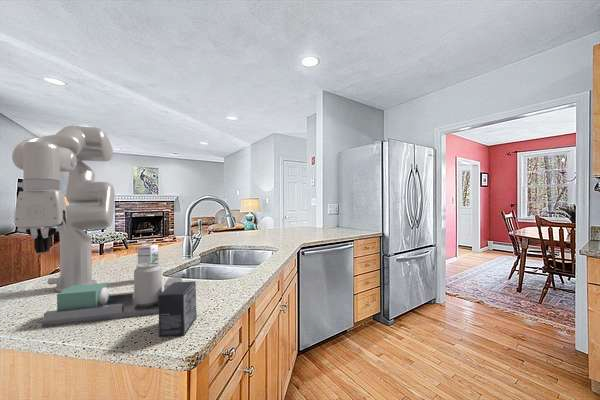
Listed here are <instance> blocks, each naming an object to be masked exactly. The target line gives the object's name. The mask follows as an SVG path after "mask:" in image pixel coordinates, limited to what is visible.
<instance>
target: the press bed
mask: <svg viewBox="0 0 600 400" xmlns="http://www.w3.org/2000/svg"><path fill="white" fill-rule="evenodd" d="M182 278H183V277H181V276H180V277H170V278H167V280H166V282H165V283H164V285H163V291H164V290H165V289H166V288H168V287H169V286H170V285H171V284H172V283H174V282H183V281H182ZM157 314H158V315H159V302H158V303H156V304H153V305H149V306H138V305H137V304H136V303H134V291H132V292H131V291H130V292H122V293H121V292H120V293H110V294H109V293H108V300H107V303H106V305H102V306H94V307H84V308H75V309H65V310H57V309H56V310H47V311H46V312H44V313H43V320H41V328H46V327H54V326H63V324H65V325H71V324H79V323H89V322H97V321H106V320H115V318H116V319H124V318H132V317H134V318H135V317H140V316H141V317H142V316H149V315H151V316H152V315H157Z"/></svg>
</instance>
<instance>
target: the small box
mask: <svg viewBox="0 0 600 400" xmlns="http://www.w3.org/2000/svg"><path fill="white" fill-rule="evenodd" d="M196 287H197V283H196V281H193V280H191V281H182V282H174V283H172V284H171V285H170V286H169V287H168V288H166V289H165V290H164V289H163V290H162V292H161V293H160V294H159V295H158V302H159V314H158V336H159V338H162V337H163V338H164V337H166V338H167V337H181V336H182V337H183V336H186V334H187V333H188V331H189V330H190V328H191V327H192V326H193V324H194V323H195V321H196V319H197V316H198V315H197V290H196V289H197V288H196Z"/></svg>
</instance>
